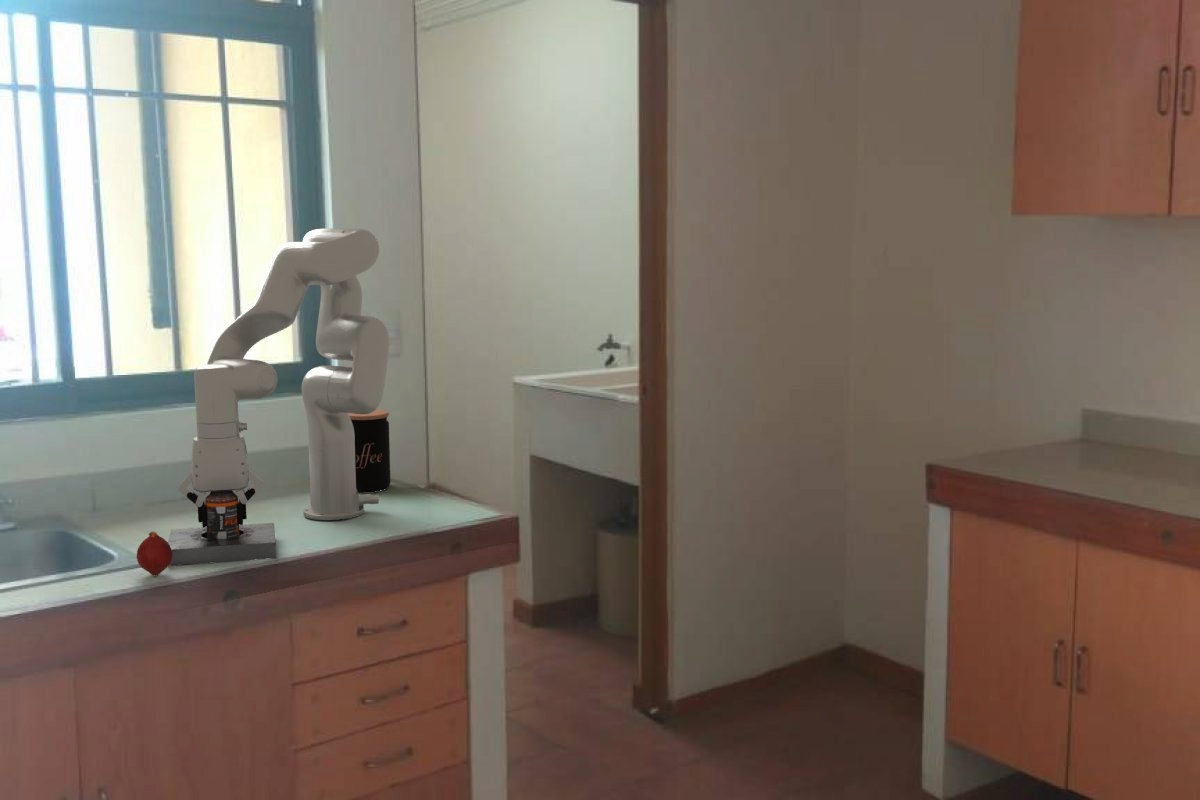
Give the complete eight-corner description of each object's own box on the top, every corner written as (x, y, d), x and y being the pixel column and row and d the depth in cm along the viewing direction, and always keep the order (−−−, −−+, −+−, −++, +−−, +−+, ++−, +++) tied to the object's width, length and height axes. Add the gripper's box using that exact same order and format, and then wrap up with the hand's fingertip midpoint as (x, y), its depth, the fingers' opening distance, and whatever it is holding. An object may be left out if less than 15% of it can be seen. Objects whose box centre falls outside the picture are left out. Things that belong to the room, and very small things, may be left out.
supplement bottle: (230, 547, 220) (227, 487, 218) (201, 545, 221) (197, 486, 219) (246, 538, 226) (243, 480, 224) (217, 537, 227) (214, 479, 225)
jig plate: (274, 537, 232) (274, 522, 231) (276, 558, 218) (275, 542, 217) (172, 544, 227) (171, 529, 226) (166, 566, 212) (166, 549, 212)
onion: (143, 571, 209) (141, 527, 208) (177, 570, 210) (174, 526, 209) (133, 580, 204) (131, 535, 202) (167, 580, 204) (165, 534, 203)
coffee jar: (336, 492, 271) (334, 415, 269) (354, 483, 282) (351, 408, 279) (381, 494, 269) (379, 416, 267) (396, 484, 280) (395, 409, 277)
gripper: (266, 424, 226) (269, 516, 229) (170, 429, 221) (175, 523, 224) (266, 431, 219) (270, 526, 222) (167, 436, 214) (173, 533, 217)
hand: (222, 523), depth 223 cm, fingers closed on supplement bottle, 5 cm apart
